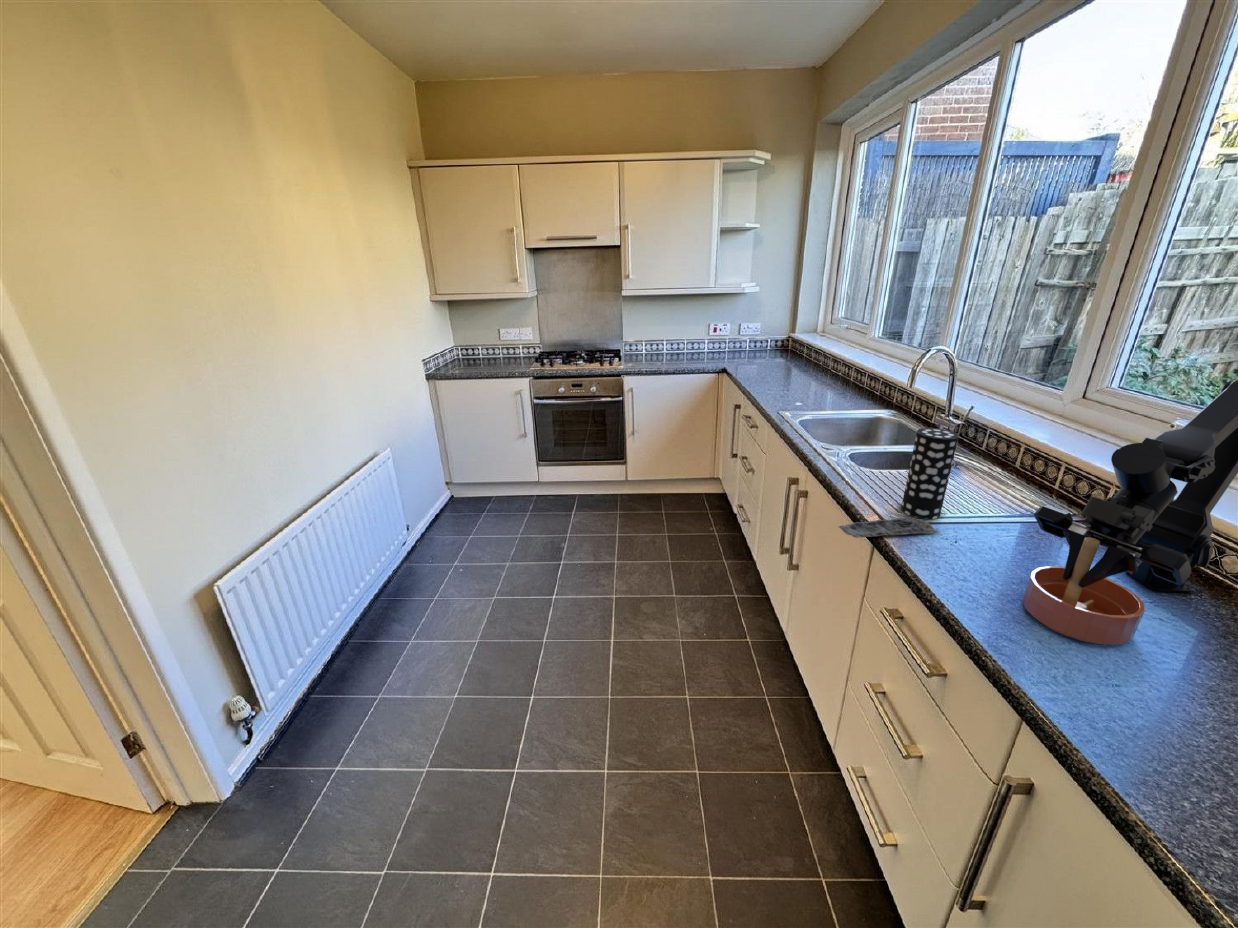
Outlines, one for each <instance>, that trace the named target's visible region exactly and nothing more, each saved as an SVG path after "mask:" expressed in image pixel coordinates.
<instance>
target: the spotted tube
mask: <svg viewBox="0 0 1238 928" xmlns="http://www.w3.org/2000/svg"><path fill="white" fill-rule="evenodd" d="M959 439H960V434H958V433H956V432H954V431H952V430H949V429H944V428H936V427H923V428H922V427H921V428H918V429H917V430H916V433H915V439H914V444H913V449H912V453H911V457H910V463H909V468H908V473H907V477H906V482H905V487H904V492H903V496H902V502H901V507H900V509H901V511H902V512H903V513H904V514H906V515H908V516H911V517H912V518H916V519H921V520H936V519H938V518H940V516H941V513H942V509H943V504H944V502H945V496H946V492H947V489H948V488H947V487H948V484H949V480H950V476H951V472H952V468H953V463H954V459H955V455H956V451H957V447H958V443H959Z"/></svg>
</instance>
